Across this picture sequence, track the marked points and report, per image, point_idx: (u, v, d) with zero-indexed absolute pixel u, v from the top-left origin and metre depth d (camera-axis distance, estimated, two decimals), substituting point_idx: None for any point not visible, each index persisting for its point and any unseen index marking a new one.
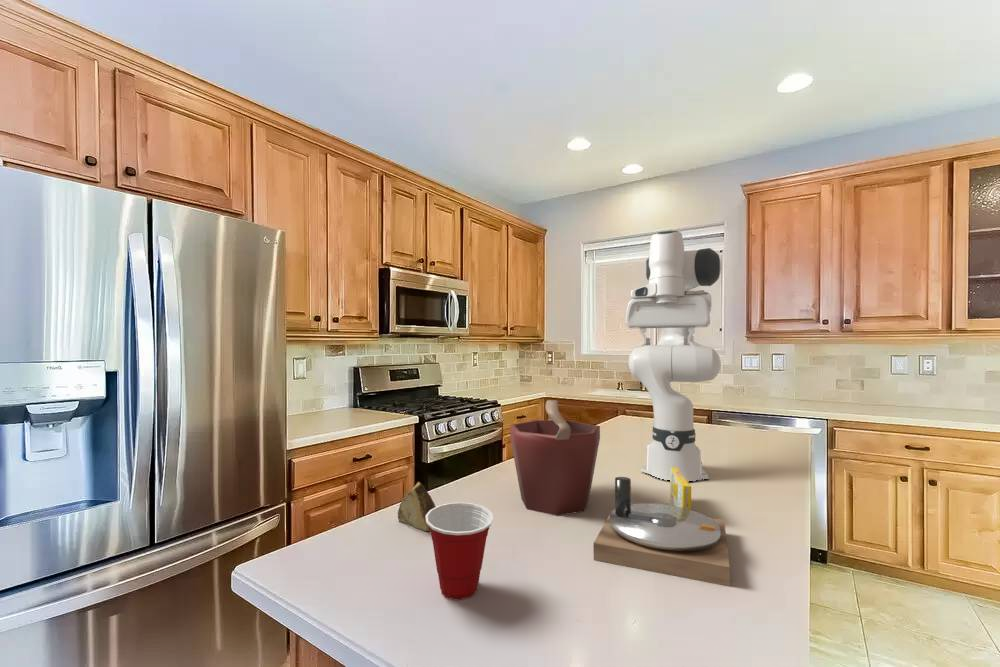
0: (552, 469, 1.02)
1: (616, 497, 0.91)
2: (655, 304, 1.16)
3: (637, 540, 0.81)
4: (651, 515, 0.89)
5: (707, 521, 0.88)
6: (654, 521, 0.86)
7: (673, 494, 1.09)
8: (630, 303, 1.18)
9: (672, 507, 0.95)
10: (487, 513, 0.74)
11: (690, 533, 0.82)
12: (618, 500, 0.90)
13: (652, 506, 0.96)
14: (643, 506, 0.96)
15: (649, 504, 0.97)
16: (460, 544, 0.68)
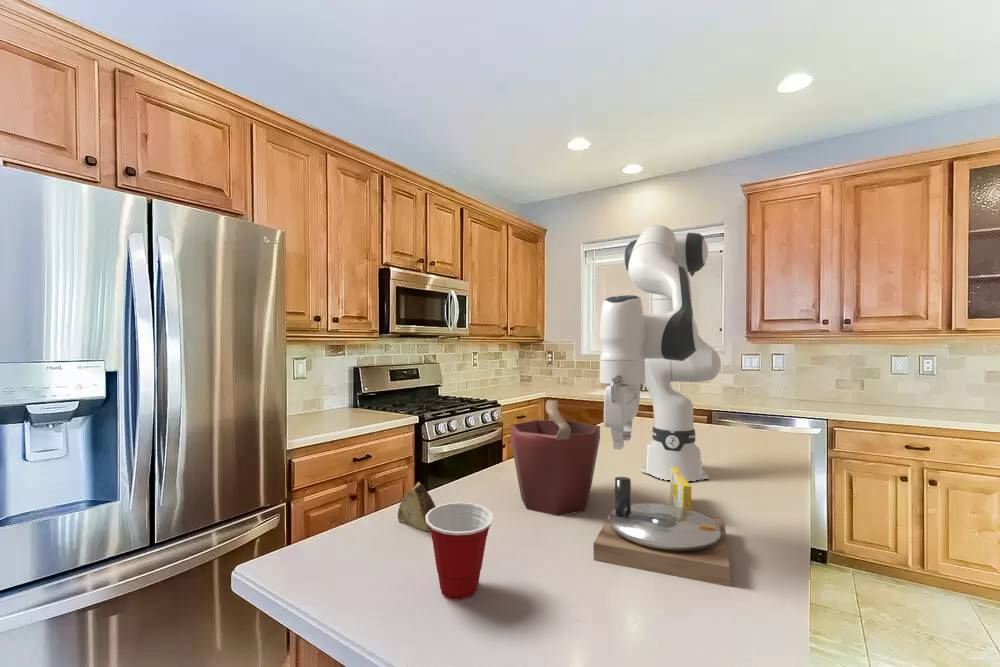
0: (552, 469, 1.02)
1: (616, 497, 0.91)
2: None
3: (637, 540, 0.81)
4: (651, 515, 0.89)
5: (707, 521, 0.88)
6: (654, 521, 0.86)
7: (673, 494, 1.09)
8: None
9: (672, 507, 0.95)
10: (487, 513, 0.74)
11: (690, 533, 0.82)
12: (618, 500, 0.90)
13: (652, 506, 0.96)
14: (643, 506, 0.96)
15: (649, 504, 0.97)
16: (460, 544, 0.68)
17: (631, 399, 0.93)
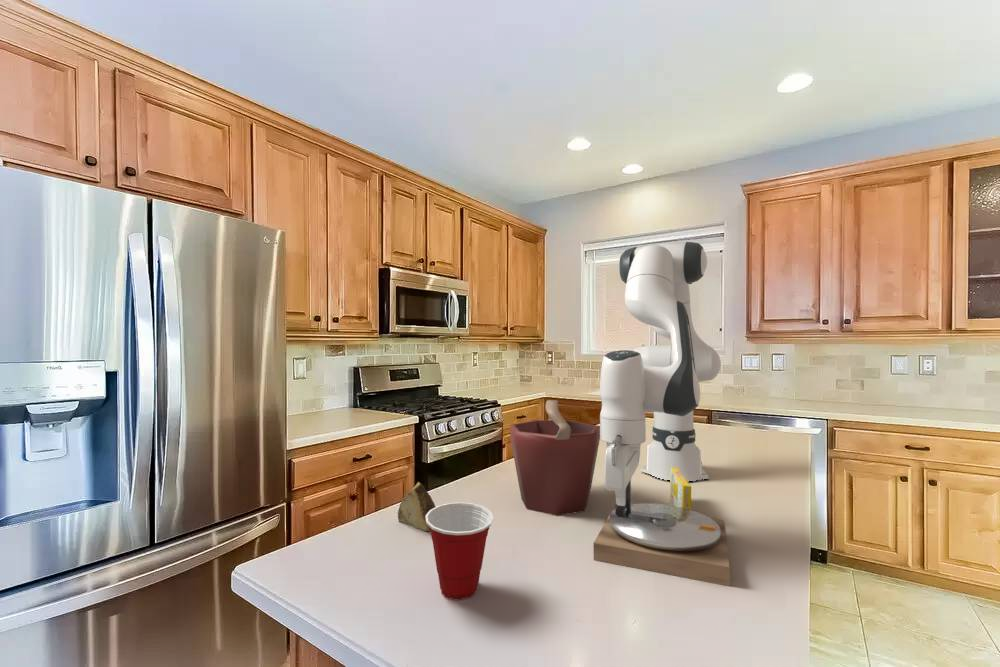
0: (552, 469, 1.02)
1: None
2: None
3: (637, 540, 0.81)
4: (651, 515, 0.89)
5: (707, 521, 0.88)
6: (654, 521, 0.86)
7: (673, 494, 1.09)
8: None
9: (672, 507, 0.95)
10: (487, 513, 0.74)
11: (690, 533, 0.82)
12: None
13: (652, 506, 0.96)
14: (643, 506, 0.96)
15: (649, 504, 0.97)
16: (460, 544, 0.68)
17: (632, 455, 0.92)
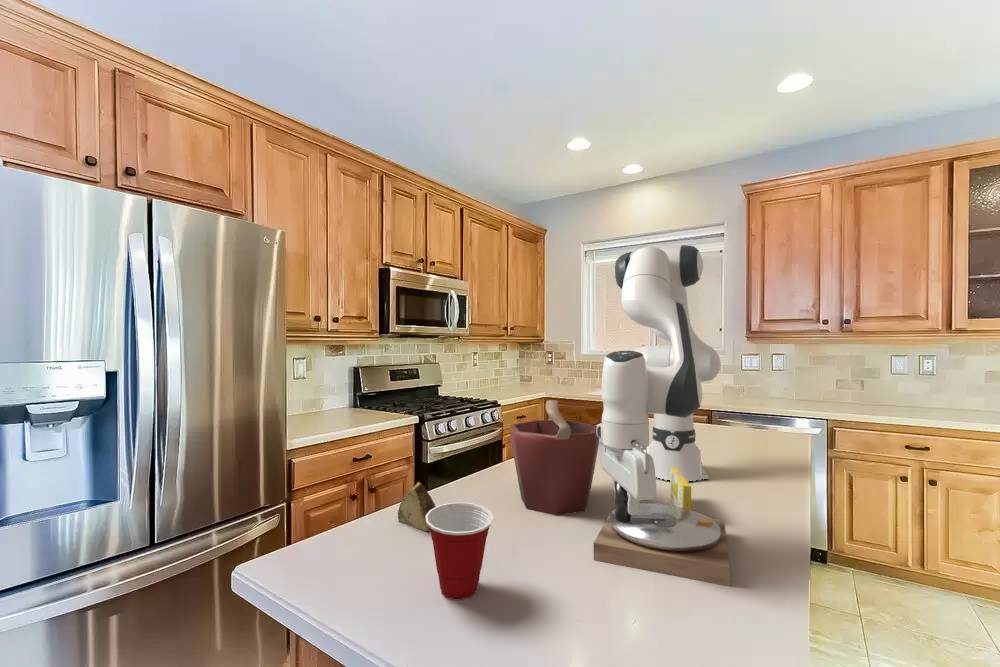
0: (552, 469, 1.02)
1: (618, 502, 0.88)
2: None
3: (656, 545, 0.79)
4: (651, 516, 0.88)
5: (698, 515, 0.91)
6: (658, 522, 0.86)
7: (673, 494, 1.09)
8: (599, 441, 0.96)
9: (657, 505, 0.96)
10: (487, 513, 0.74)
11: (697, 530, 0.83)
12: (620, 505, 0.87)
13: (639, 506, 0.96)
14: None
15: None
16: (460, 544, 0.68)
17: None
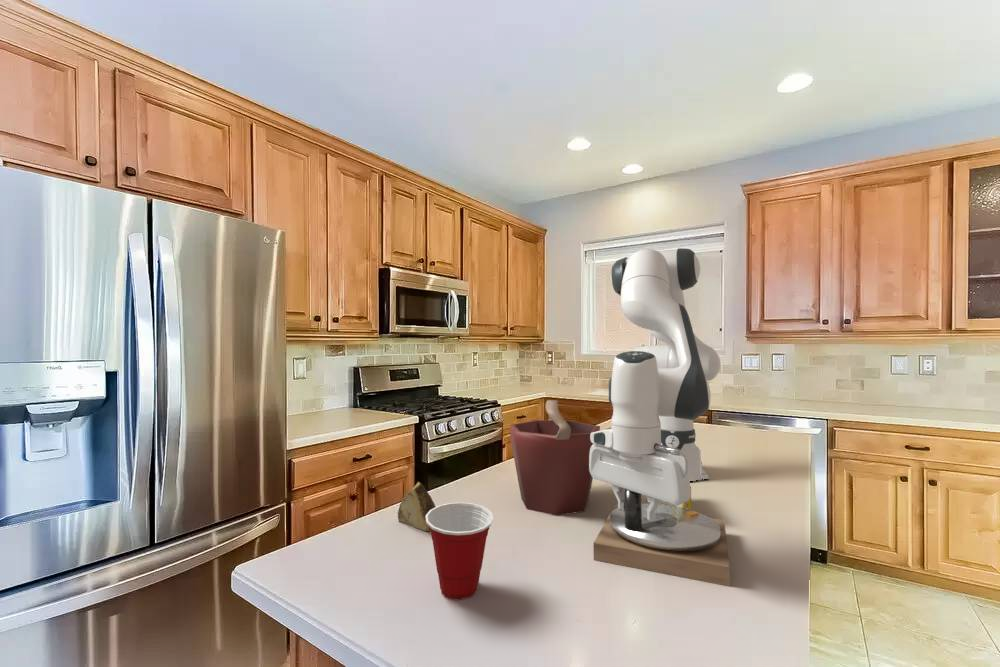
0: (552, 469, 1.02)
1: (632, 510, 0.83)
2: (618, 457, 0.85)
3: (689, 547, 0.78)
4: (655, 518, 0.87)
5: (677, 509, 0.94)
6: (666, 523, 0.85)
7: None
8: (591, 449, 0.90)
9: None
10: (487, 513, 0.74)
11: (698, 523, 0.87)
12: (635, 513, 0.83)
13: None
14: (621, 513, 0.92)
15: (618, 509, 0.94)
16: (460, 544, 0.68)
17: None
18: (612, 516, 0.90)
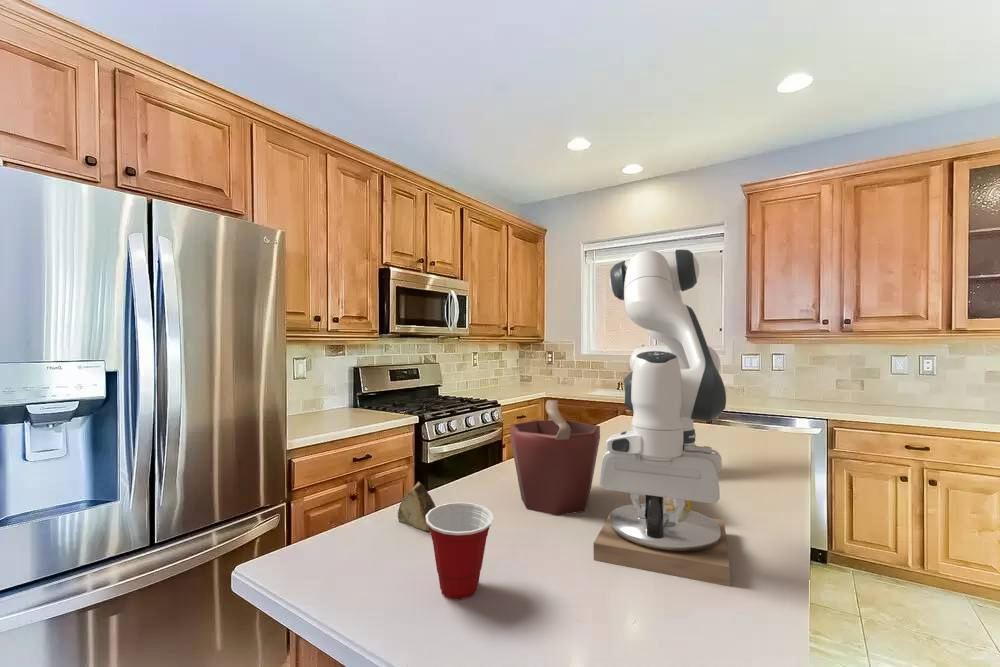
0: (552, 469, 1.02)
1: (658, 517, 0.80)
2: (640, 462, 0.81)
3: (714, 542, 0.80)
4: None
5: None
6: None
7: None
8: (605, 458, 0.83)
9: (619, 511, 0.93)
10: (487, 513, 0.74)
11: (688, 516, 0.90)
12: (661, 519, 0.80)
13: (618, 518, 0.89)
14: (621, 521, 0.87)
15: (613, 518, 0.89)
16: (460, 544, 0.68)
17: None
18: (621, 527, 0.85)
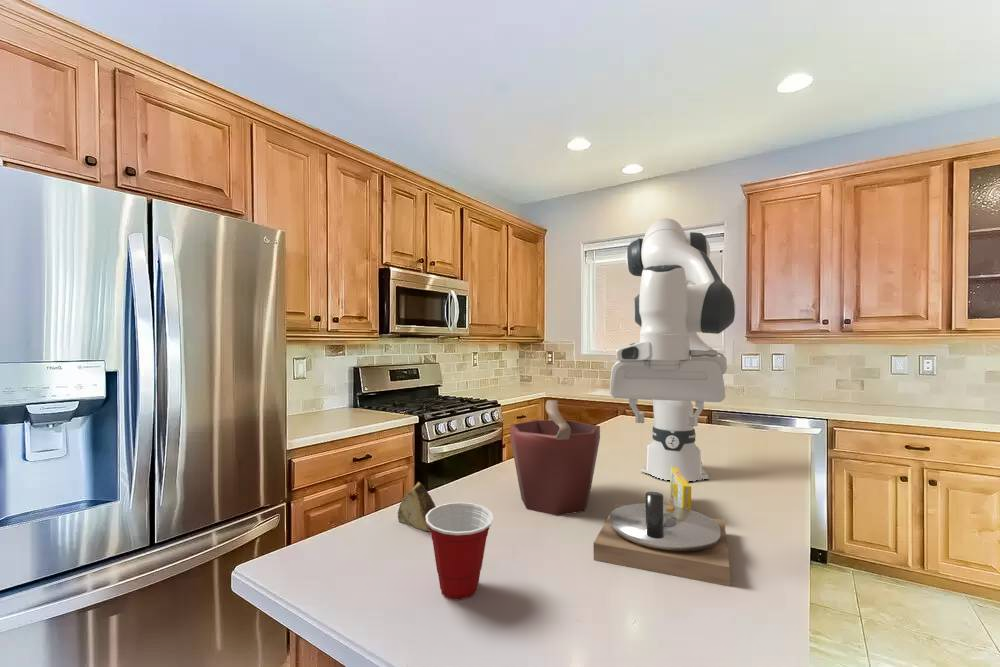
0: (552, 469, 1.02)
1: (658, 517, 0.80)
2: (649, 369, 0.85)
3: (714, 542, 0.80)
4: None
5: None
6: (673, 523, 0.86)
7: (673, 494, 1.09)
8: (615, 367, 0.87)
9: (619, 511, 0.93)
10: (487, 513, 0.74)
11: (688, 516, 0.90)
12: (661, 519, 0.80)
13: (618, 518, 0.89)
14: (621, 521, 0.87)
15: (613, 518, 0.89)
16: (460, 544, 0.68)
17: None
18: (621, 527, 0.85)
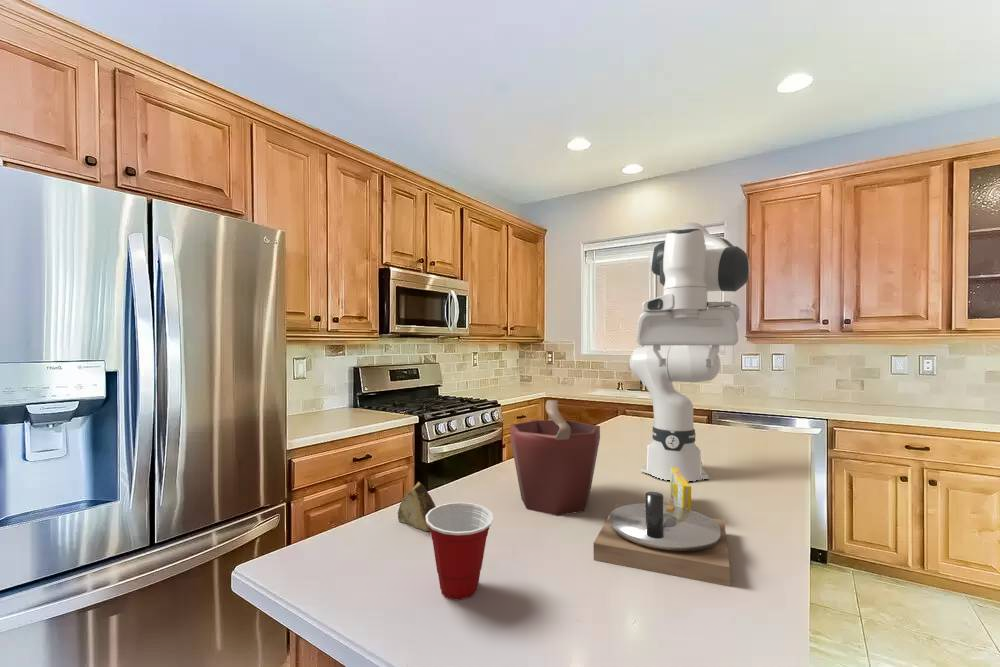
0: (552, 469, 1.02)
1: (658, 517, 0.80)
2: (671, 318, 0.98)
3: (714, 542, 0.80)
4: None
5: None
6: (673, 523, 0.86)
7: (673, 494, 1.09)
8: (642, 317, 1.00)
9: (619, 511, 0.93)
10: (487, 513, 0.74)
11: (688, 516, 0.90)
12: (661, 519, 0.80)
13: (618, 518, 0.89)
14: (621, 521, 0.87)
15: (613, 518, 0.89)
16: (460, 544, 0.68)
17: None
18: (621, 527, 0.85)
